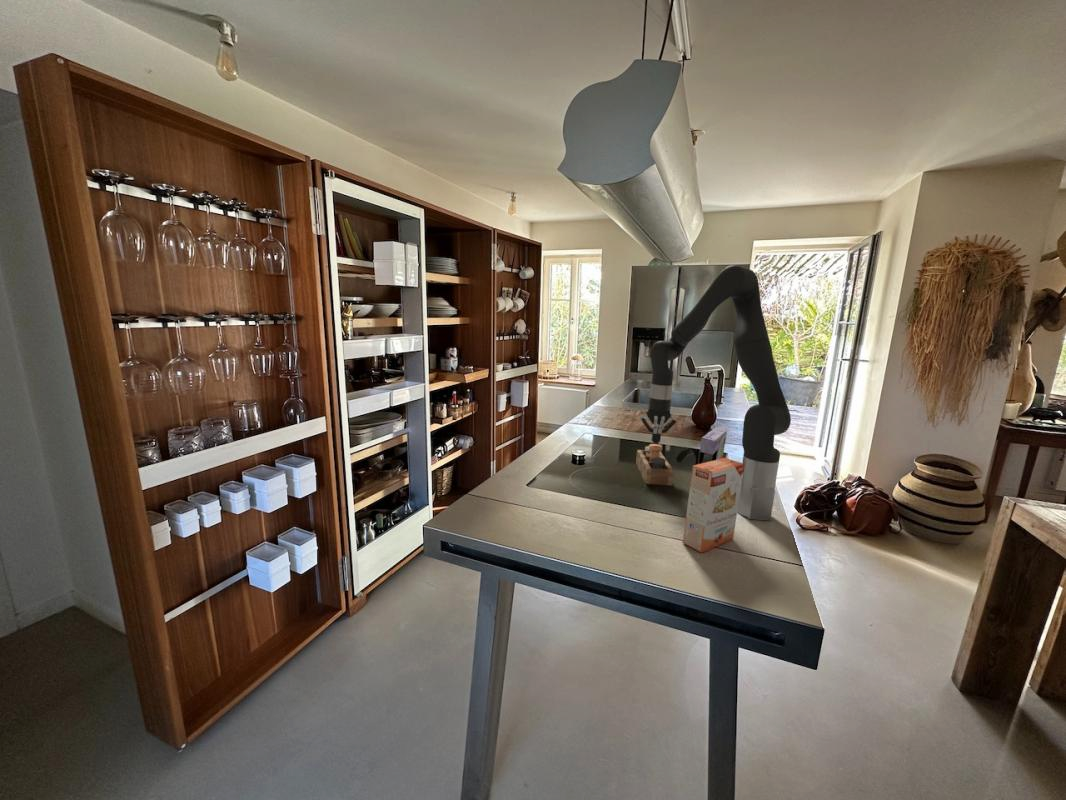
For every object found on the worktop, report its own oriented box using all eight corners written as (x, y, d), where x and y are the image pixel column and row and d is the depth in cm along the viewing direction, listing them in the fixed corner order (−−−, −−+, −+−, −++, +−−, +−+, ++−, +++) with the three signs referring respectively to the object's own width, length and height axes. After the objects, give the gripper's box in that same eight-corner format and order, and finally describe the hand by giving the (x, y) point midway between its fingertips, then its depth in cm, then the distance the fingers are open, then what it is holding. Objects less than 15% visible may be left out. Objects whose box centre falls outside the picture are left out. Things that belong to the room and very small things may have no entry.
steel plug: (656, 468, 159) (658, 450, 158) (644, 467, 160) (646, 449, 158) (654, 464, 164) (656, 446, 163) (642, 463, 164) (644, 445, 163)
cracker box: (702, 555, 100) (713, 472, 97) (681, 543, 105) (690, 464, 101) (735, 540, 108) (746, 463, 104) (714, 530, 113) (723, 456, 109)
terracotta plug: (661, 467, 152) (663, 448, 151) (648, 466, 152) (650, 447, 151) (658, 463, 157) (660, 444, 155) (646, 462, 157) (648, 443, 156)
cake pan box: (707, 490, 142) (714, 439, 138) (692, 486, 144) (698, 436, 141) (721, 475, 157) (727, 429, 154) (707, 472, 160) (713, 427, 156)
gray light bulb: (664, 482, 146) (666, 461, 144) (651, 481, 146) (653, 460, 145) (661, 477, 150) (663, 457, 149) (648, 476, 151) (650, 456, 149)
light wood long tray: (672, 485, 144) (673, 470, 143) (645, 483, 145) (646, 468, 144) (659, 464, 166) (660, 451, 165) (636, 463, 166) (637, 449, 165)
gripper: (643, 397, 147) (638, 444, 150) (682, 399, 146) (676, 447, 149) (640, 393, 154) (635, 439, 157) (676, 396, 153) (671, 441, 156)
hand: (655, 443), depth 153 cm, fingers closed
